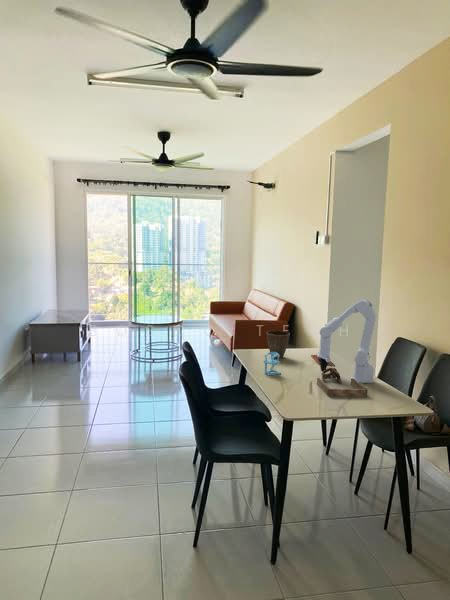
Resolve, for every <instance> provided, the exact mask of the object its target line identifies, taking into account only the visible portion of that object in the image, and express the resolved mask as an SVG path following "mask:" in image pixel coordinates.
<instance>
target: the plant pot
mask: <svg viewBox="0 0 450 600" xmlns="http://www.w3.org/2000/svg"><path fill="white" fill-rule="evenodd" d="M290 336H291V333H290V332H288V331H285V330H269V331H268V330H267V331H266V339H267V340H266V341H267V346H268V350H269V352H276V353H278V354H279V355H280V357H279V359H283V358H284V357H285V354H286V351H287V348H288V344H289V342H290ZM273 356H274V355H272V357H273ZM277 358H278V357H275V358H274V359H277Z"/></svg>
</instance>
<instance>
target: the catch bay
mask: <svg viewBox="0 0 450 600" xmlns="http://www.w3.org/2000/svg"><path fill="white" fill-rule="evenodd" d="M316 385H317V386H318V388H319V389H321V390H322V392H323V393H324V394H325V395H326V396H327V397H334V398H335V397H346V398H347V397H349V398H350V397H352V398H353V397H355V398H356V397H360V398H363V397H364V398H365V397H368V393H369V392H368V391H369V390H368V389H367V388H366V387H365V386H364V385H363V384H361V383H359V382H357V381H356V380H355V379H354V378H351V377H350V386H351V387H352V388H331V387H329V386H328V385H327V384H326V382H325V381H324V380H323V379H322V378H320V377H317V378H316Z"/></svg>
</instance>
